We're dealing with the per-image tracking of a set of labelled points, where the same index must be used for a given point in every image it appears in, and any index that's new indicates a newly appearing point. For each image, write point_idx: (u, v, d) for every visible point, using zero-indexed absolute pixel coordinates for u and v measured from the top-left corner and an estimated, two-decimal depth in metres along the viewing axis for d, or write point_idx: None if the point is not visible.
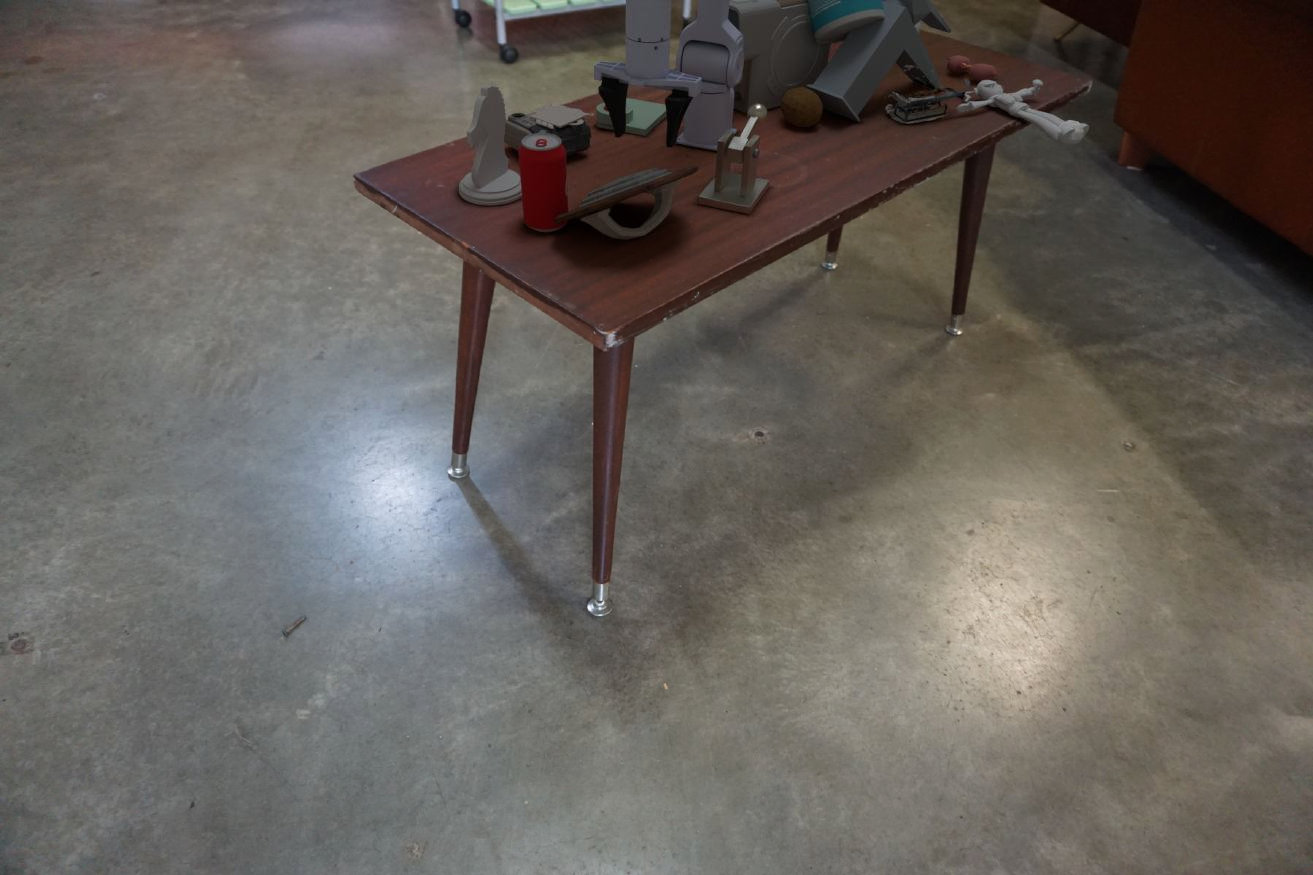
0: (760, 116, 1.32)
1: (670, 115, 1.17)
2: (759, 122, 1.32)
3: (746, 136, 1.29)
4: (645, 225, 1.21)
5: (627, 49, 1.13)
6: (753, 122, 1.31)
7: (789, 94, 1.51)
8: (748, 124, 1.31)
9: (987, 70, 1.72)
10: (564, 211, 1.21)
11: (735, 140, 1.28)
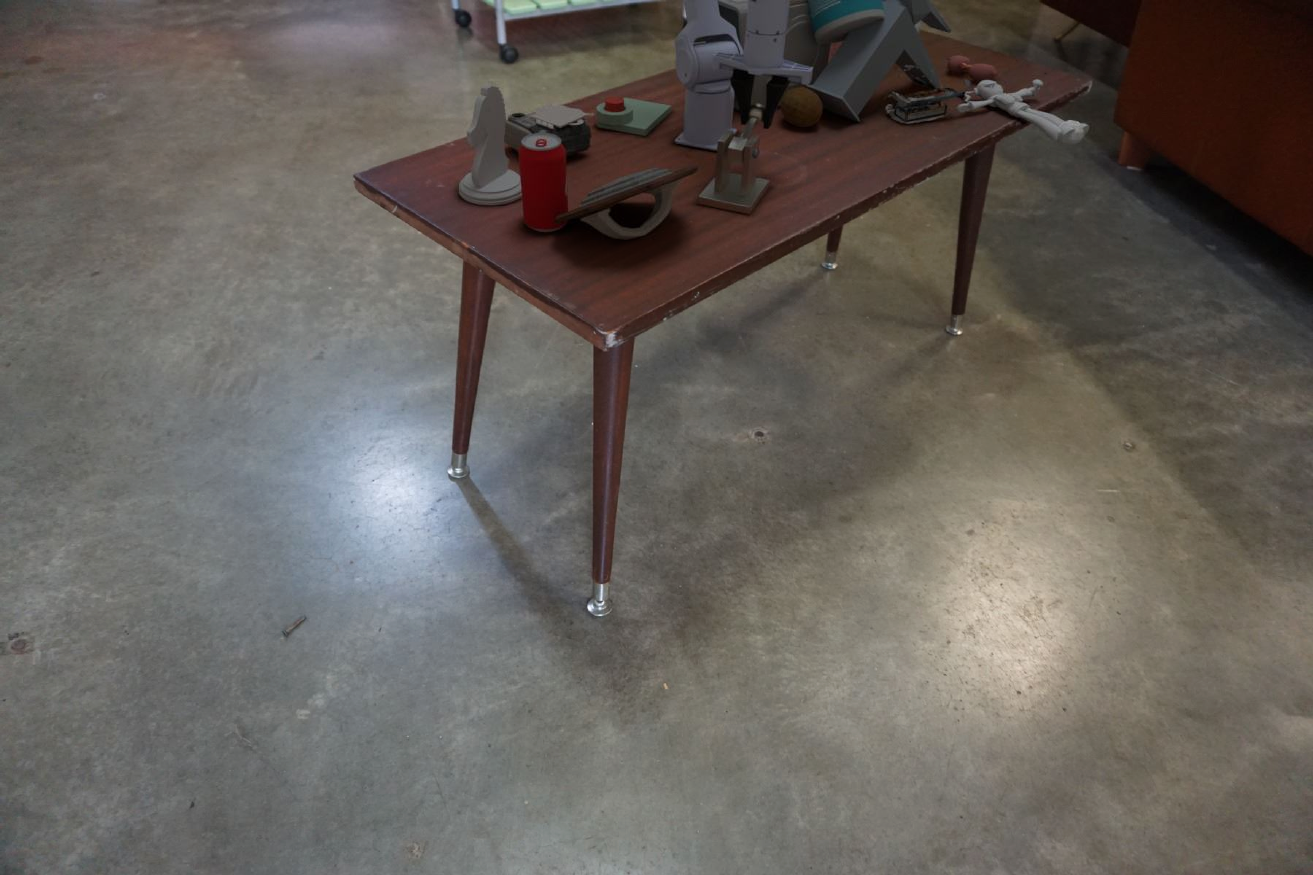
0: (760, 116, 1.32)
1: (769, 99, 1.29)
2: (759, 122, 1.32)
3: (746, 136, 1.29)
4: (645, 225, 1.21)
5: (747, 41, 1.25)
6: (753, 122, 1.31)
7: (789, 94, 1.51)
8: (748, 124, 1.31)
9: (987, 70, 1.72)
10: (564, 211, 1.21)
11: (735, 140, 1.28)
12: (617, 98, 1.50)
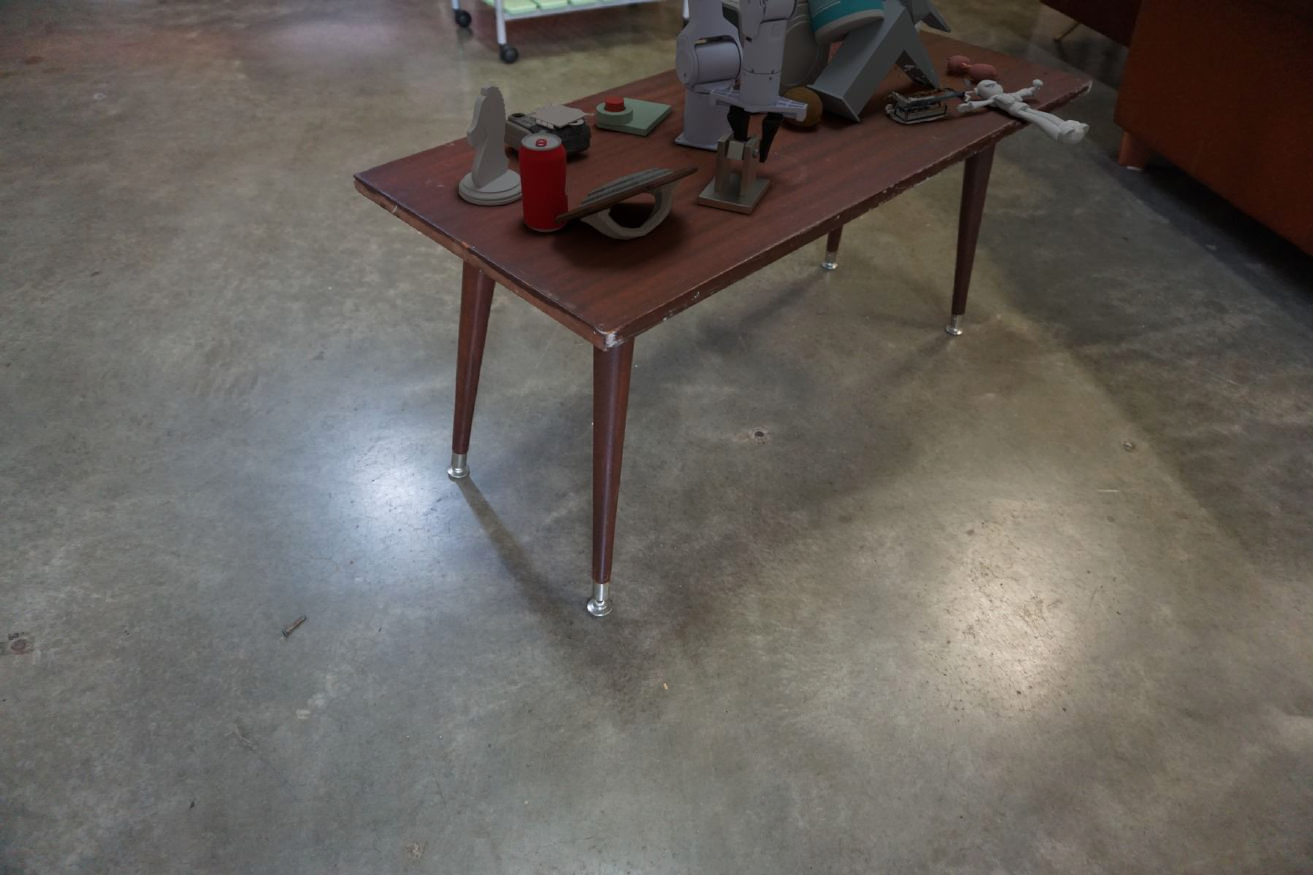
0: None
1: (765, 135, 1.32)
2: None
3: None
4: (645, 225, 1.21)
5: (743, 79, 1.28)
6: None
7: (789, 94, 1.51)
8: None
9: (987, 70, 1.72)
10: (564, 211, 1.21)
11: (736, 140, 1.28)
12: (617, 98, 1.50)
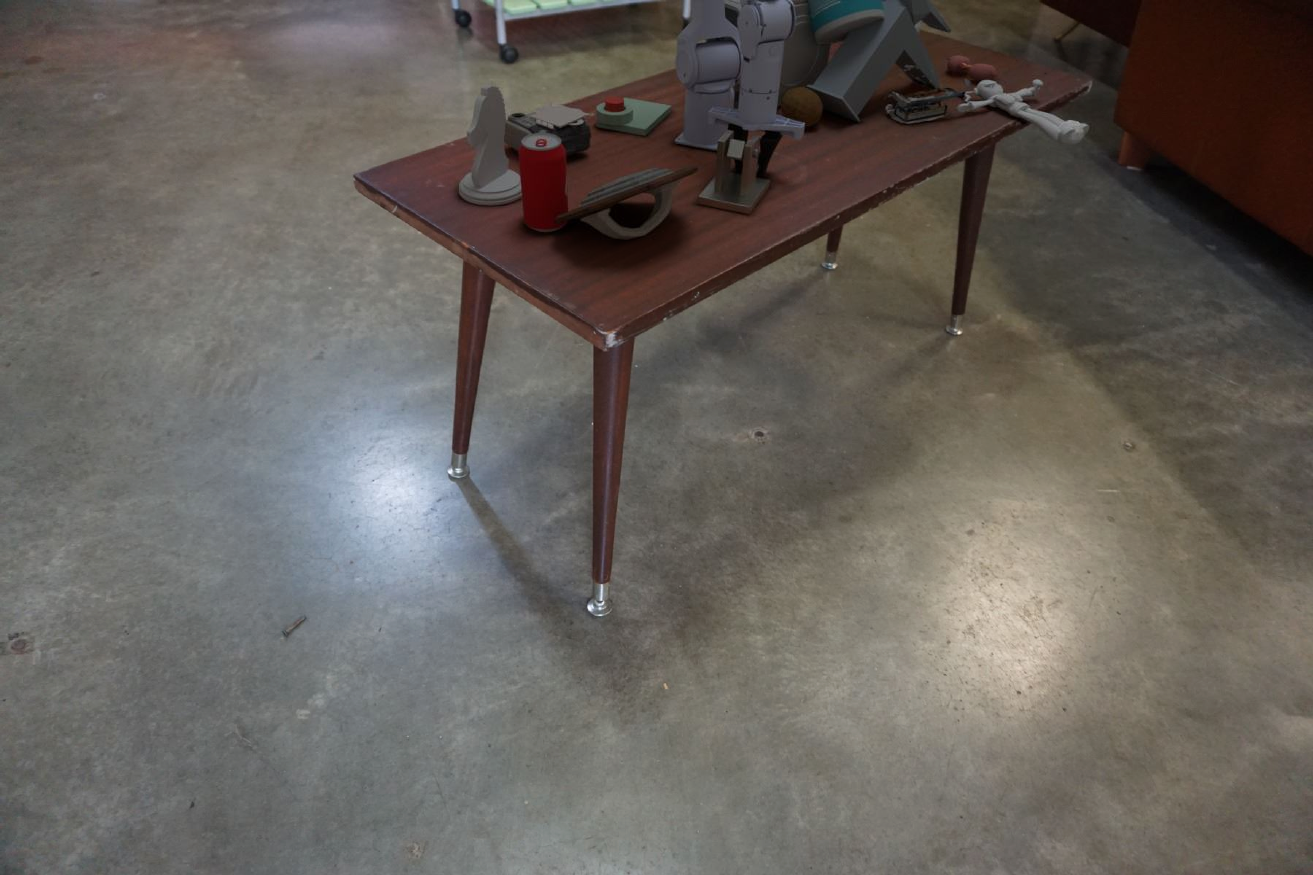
0: None
1: (763, 153, 1.34)
2: None
3: None
4: (645, 225, 1.21)
5: (741, 98, 1.30)
6: None
7: (789, 94, 1.51)
8: None
9: (987, 70, 1.72)
10: (564, 211, 1.21)
11: None
12: (617, 98, 1.50)
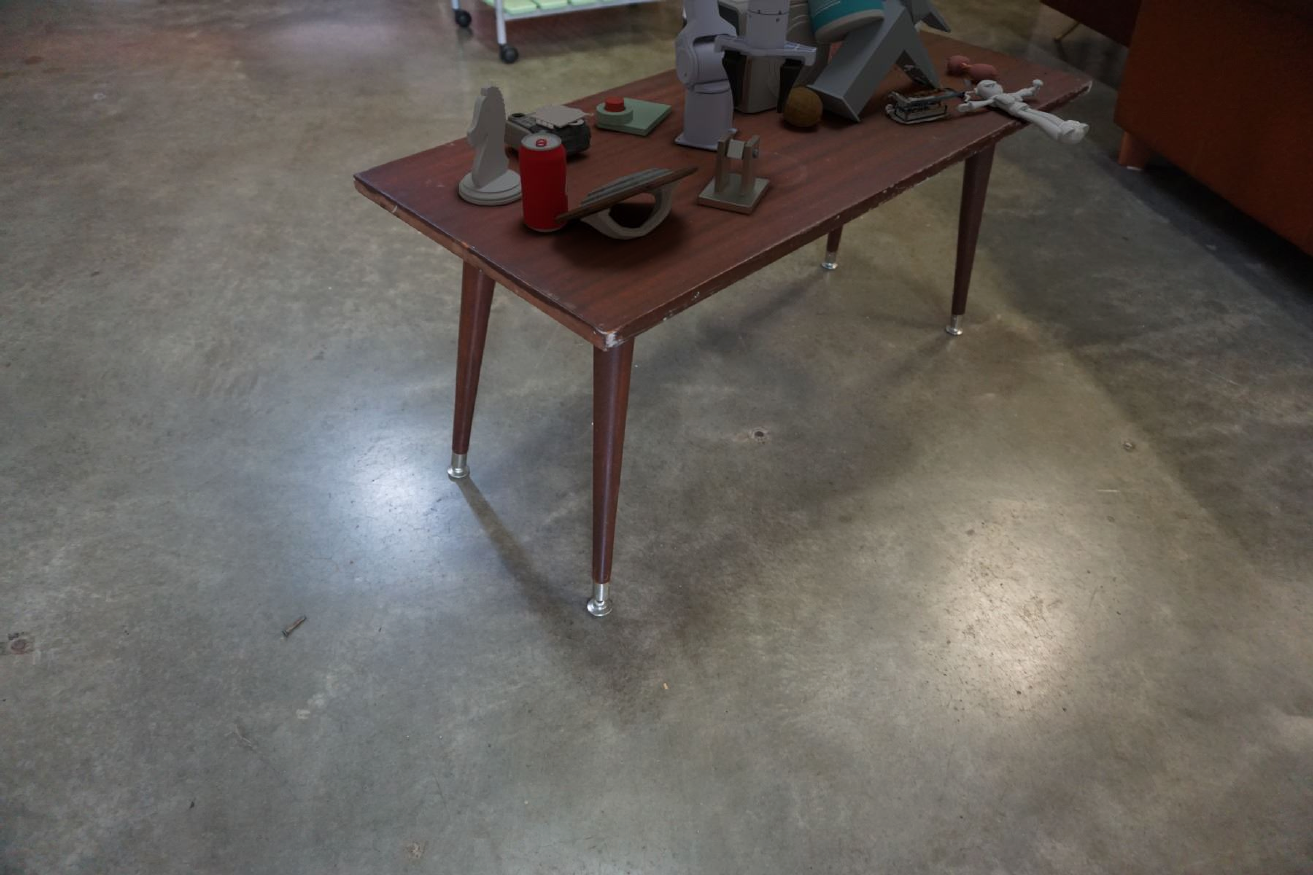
0: None
1: (783, 83, 1.26)
2: None
3: None
4: (645, 225, 1.21)
5: (749, 22, 1.23)
6: None
7: (789, 94, 1.51)
8: None
9: (987, 70, 1.72)
10: (564, 211, 1.21)
11: None
12: (617, 98, 1.50)
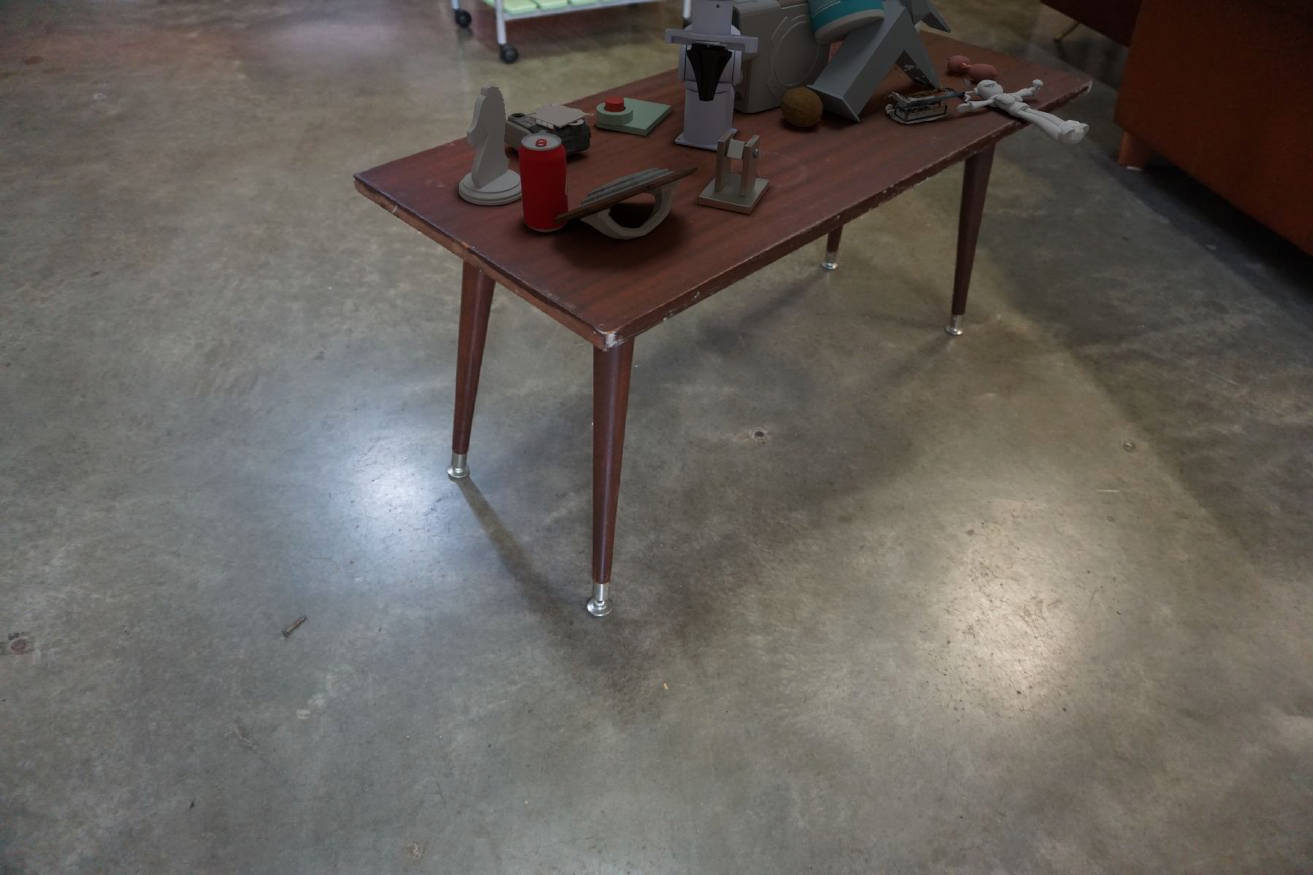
0: None
1: (706, 67, 1.29)
2: None
3: None
4: (645, 225, 1.21)
5: (693, 9, 1.26)
6: None
7: (789, 94, 1.51)
8: None
9: (987, 70, 1.72)
10: (564, 211, 1.21)
11: None
12: (617, 98, 1.50)
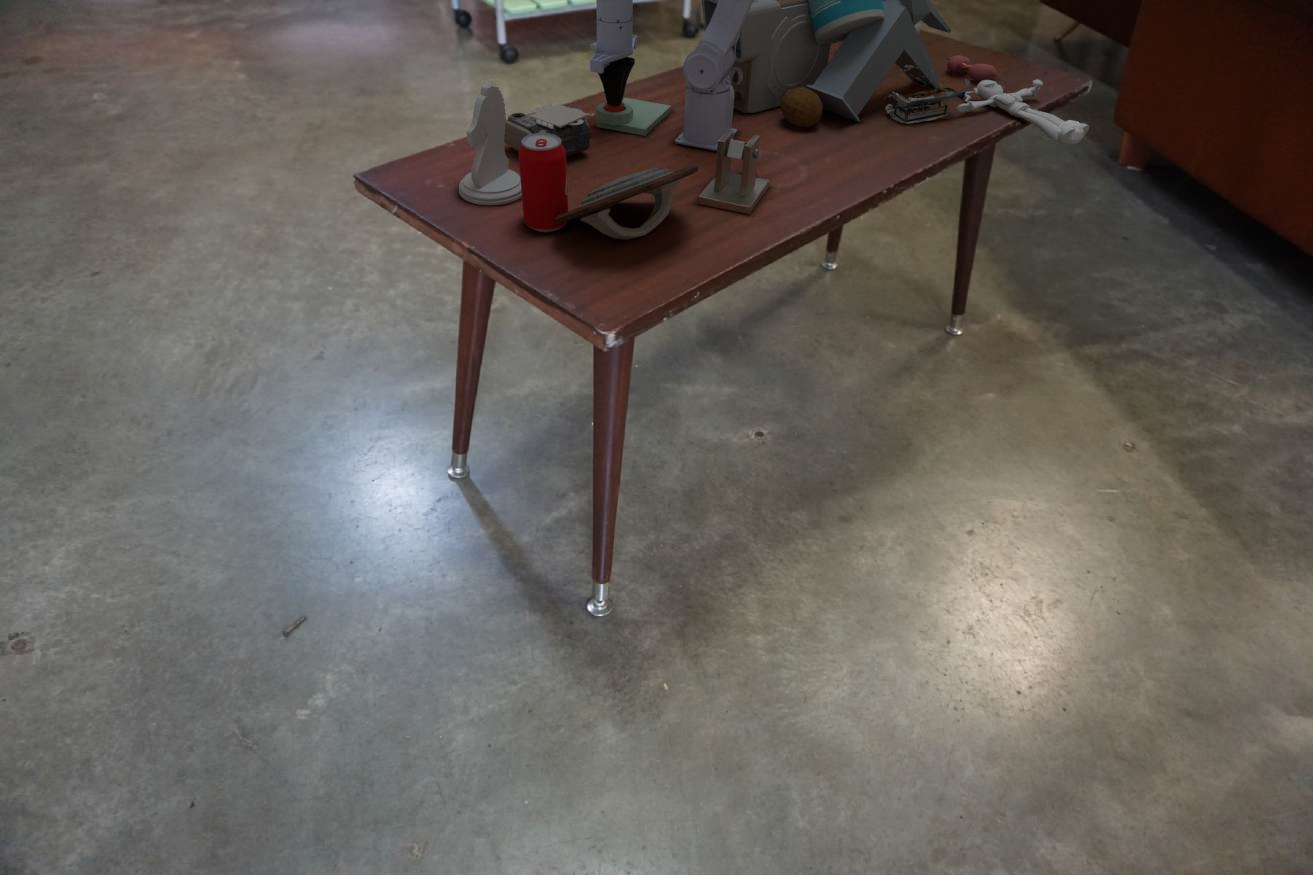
0: None
1: None
2: None
3: None
4: (645, 225, 1.21)
5: None
6: None
7: (789, 94, 1.51)
8: None
9: (987, 70, 1.72)
10: (564, 211, 1.21)
11: None
12: None
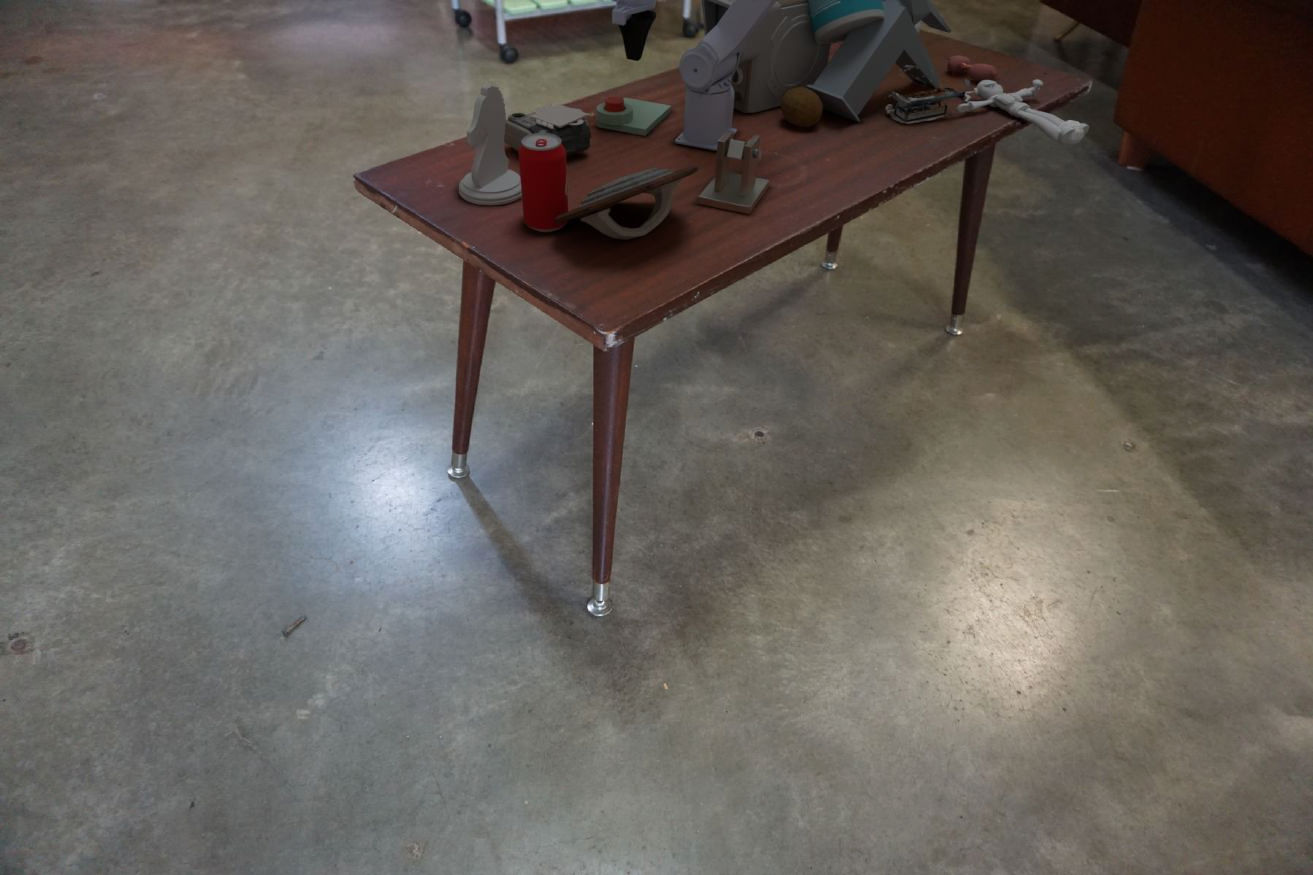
0: None
1: None
2: None
3: None
4: (645, 225, 1.21)
5: None
6: None
7: (789, 94, 1.51)
8: None
9: (987, 70, 1.72)
10: (564, 211, 1.21)
11: None
12: (617, 98, 1.50)
